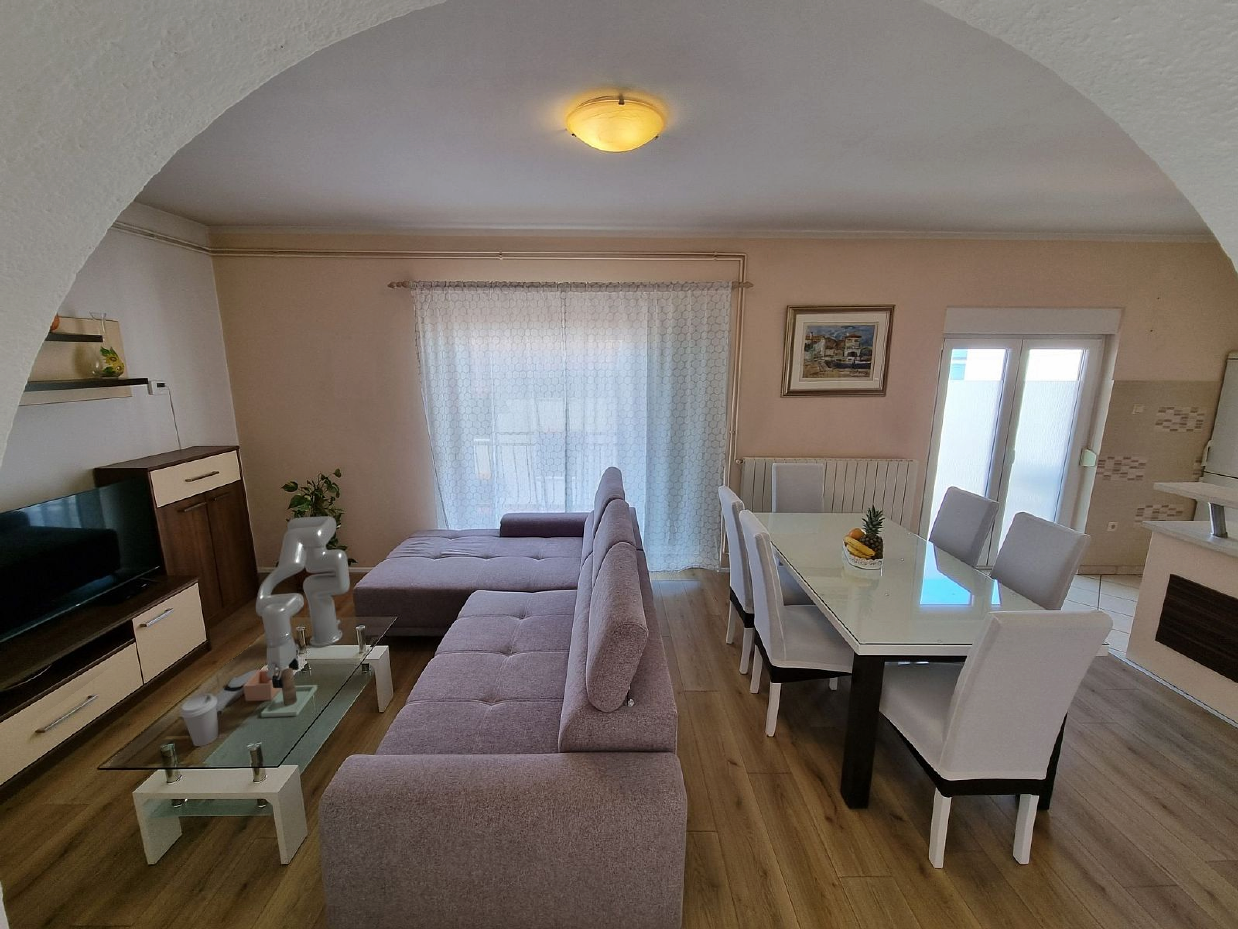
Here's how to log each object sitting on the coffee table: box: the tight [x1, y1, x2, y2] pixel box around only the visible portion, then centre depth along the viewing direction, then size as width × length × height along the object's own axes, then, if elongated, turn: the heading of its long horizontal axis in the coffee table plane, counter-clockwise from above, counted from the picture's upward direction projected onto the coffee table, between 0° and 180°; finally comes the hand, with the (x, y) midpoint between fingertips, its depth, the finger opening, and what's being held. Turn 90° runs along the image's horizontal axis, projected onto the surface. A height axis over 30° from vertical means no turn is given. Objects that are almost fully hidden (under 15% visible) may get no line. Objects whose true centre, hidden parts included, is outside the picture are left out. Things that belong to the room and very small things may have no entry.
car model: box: [214, 669, 259, 715], centre depth 181 cm, size 11×24×5 cm, turn 171°
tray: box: [260, 684, 318, 718], centre depth 179 cm, size 14×12×2 cm
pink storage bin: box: [243, 668, 282, 702], centre depth 183 cm, size 9×9×8 cm
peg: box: [281, 667, 297, 706], centre depth 177 cm, size 4×4×13 cm
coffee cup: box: [179, 692, 220, 747], centre depth 161 cm, size 10×10×15 cm
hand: (286, 678), depth 176 cm, fingers open, 9 cm apart
